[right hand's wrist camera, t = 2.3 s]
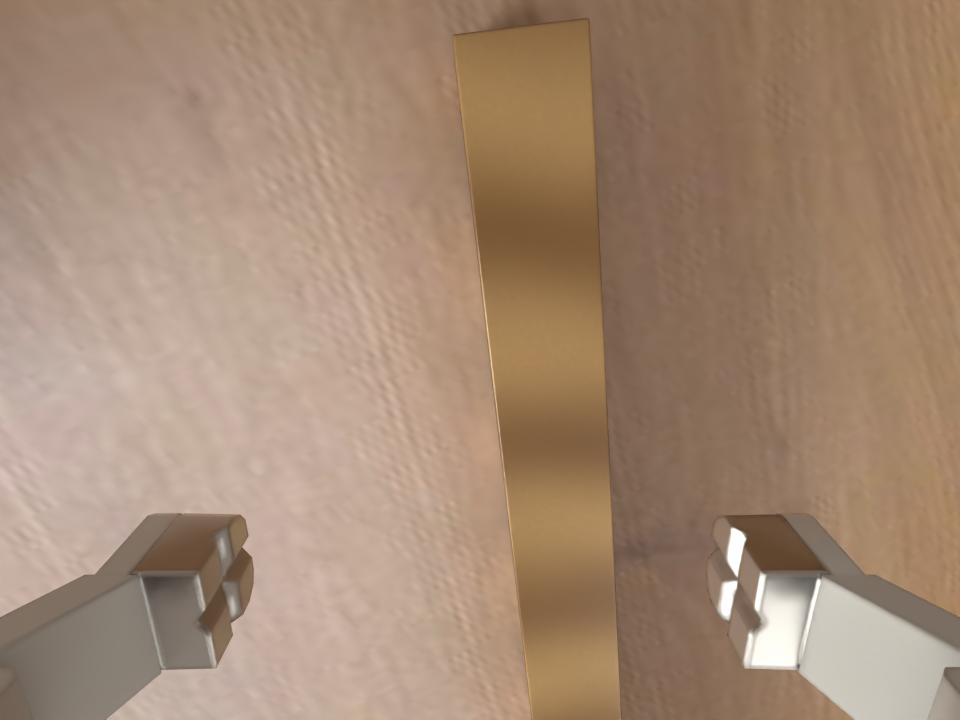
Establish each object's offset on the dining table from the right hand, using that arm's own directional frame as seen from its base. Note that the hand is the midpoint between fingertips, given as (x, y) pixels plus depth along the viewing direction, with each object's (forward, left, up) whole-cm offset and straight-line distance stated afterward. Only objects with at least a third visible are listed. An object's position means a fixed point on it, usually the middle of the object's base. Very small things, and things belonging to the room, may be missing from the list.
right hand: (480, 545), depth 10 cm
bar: (+22, -12, -21) cm, 33 cm away
